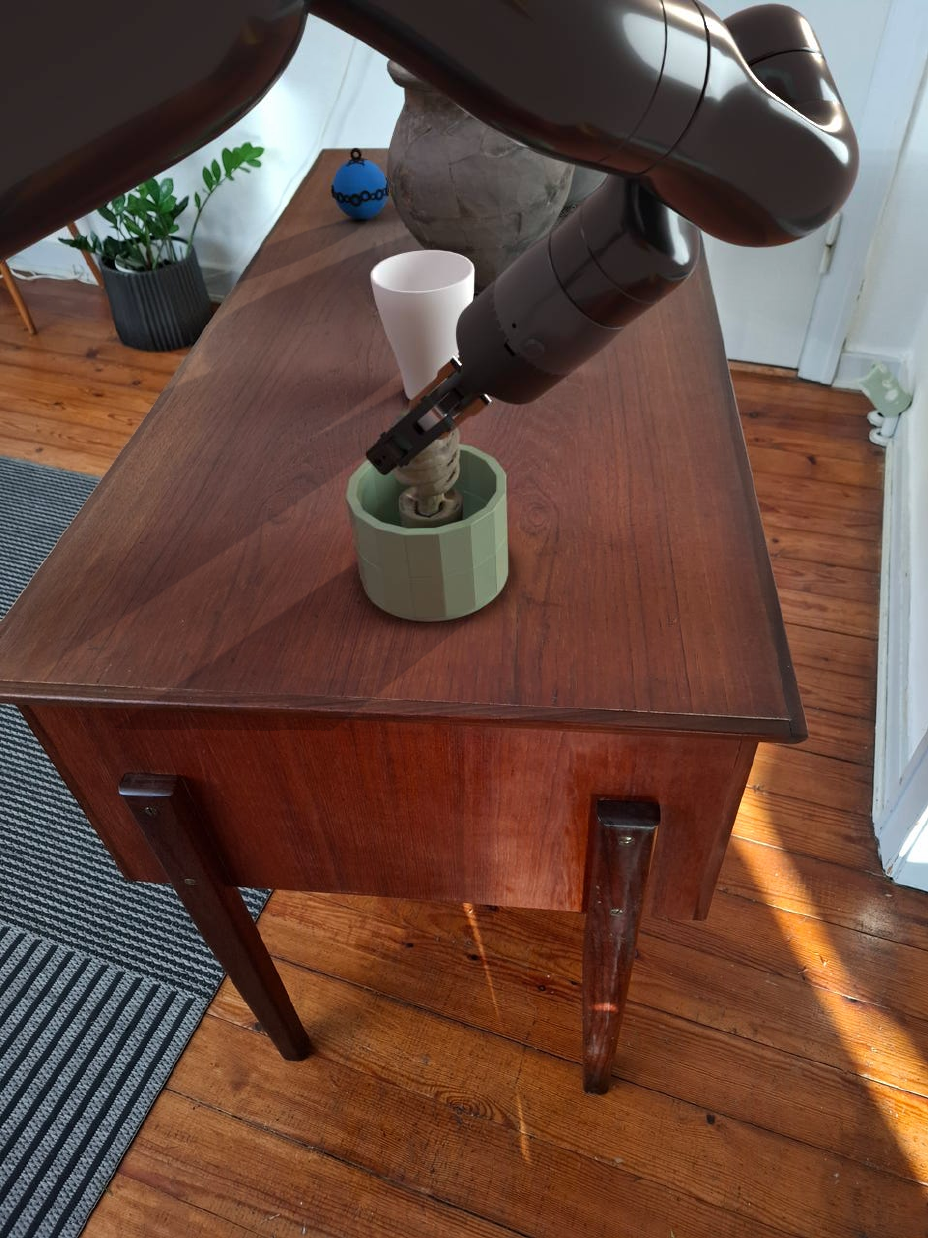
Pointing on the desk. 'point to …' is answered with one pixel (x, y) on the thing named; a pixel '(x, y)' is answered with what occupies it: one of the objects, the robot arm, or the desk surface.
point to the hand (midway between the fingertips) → (406, 434)
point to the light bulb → (431, 484)
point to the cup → (422, 310)
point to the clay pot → (468, 183)
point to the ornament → (360, 187)
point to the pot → (431, 543)
